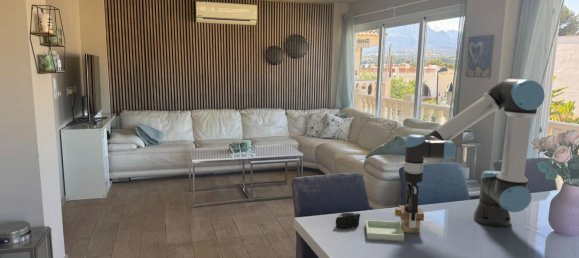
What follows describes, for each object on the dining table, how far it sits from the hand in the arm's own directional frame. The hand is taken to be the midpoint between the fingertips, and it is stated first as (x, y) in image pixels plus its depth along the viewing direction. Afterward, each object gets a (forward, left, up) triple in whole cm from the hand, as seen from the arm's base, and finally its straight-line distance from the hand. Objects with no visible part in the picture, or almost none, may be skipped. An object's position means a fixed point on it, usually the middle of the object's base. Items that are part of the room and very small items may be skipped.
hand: (410, 222), depth 177 cm
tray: (+12, +6, -3) cm, 13 cm away
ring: (0, 0, +3) cm, 3 cm away
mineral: (+27, -1, -3) cm, 27 cm away
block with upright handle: (0, 0, -3) cm, 3 cm away
